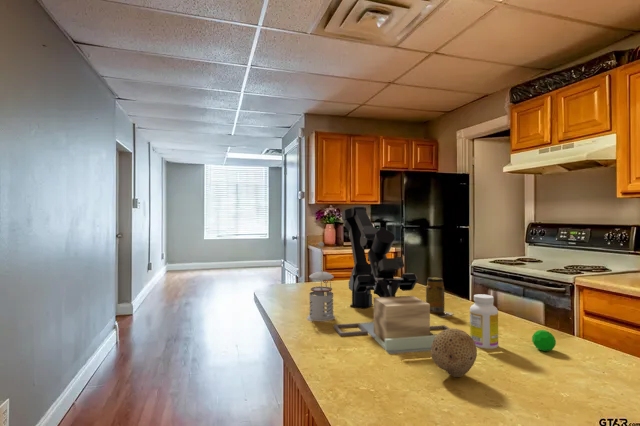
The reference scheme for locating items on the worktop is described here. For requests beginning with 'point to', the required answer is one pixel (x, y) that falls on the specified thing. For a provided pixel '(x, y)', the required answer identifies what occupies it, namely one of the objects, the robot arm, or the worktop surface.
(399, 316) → the oak block
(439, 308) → the condiment
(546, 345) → the polyhedron
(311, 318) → the french press
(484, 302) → the supplement bottle
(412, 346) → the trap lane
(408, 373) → the worktop surface
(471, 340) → the natural sponge
